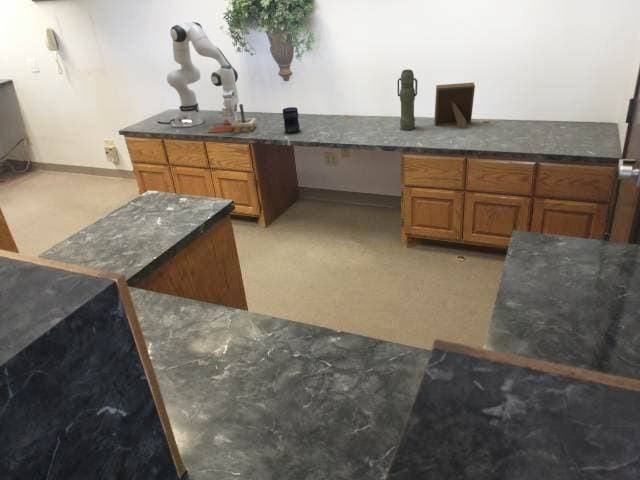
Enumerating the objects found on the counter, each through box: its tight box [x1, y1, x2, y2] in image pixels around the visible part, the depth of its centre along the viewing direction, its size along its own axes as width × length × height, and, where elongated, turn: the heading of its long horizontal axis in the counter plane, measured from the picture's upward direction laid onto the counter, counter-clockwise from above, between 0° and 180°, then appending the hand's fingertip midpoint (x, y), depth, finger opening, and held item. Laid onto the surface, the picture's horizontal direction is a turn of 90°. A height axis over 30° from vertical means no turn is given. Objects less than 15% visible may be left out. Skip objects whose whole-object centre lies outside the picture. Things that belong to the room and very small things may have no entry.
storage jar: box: [282, 106, 301, 135], centre depth 328 cm, size 10×10×15 cm
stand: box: [233, 103, 256, 134], centre depth 343 cm, size 12×12×18 cm
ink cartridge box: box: [221, 101, 238, 125], centre depth 362 cm, size 9×5×15 cm, turn 84°
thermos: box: [397, 69, 419, 131], centre depth 308 cm, size 9×12×35 cm
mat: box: [208, 125, 234, 134], centre depth 353 cm, size 16×14×1 cm
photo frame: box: [433, 82, 476, 129], centre depth 307 cm, size 15×22×25 cm
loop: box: [231, 117, 257, 127], centre depth 345 cm, size 14×14×2 cm
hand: (234, 113), depth 336 cm, fingers open, 8 cm apart
